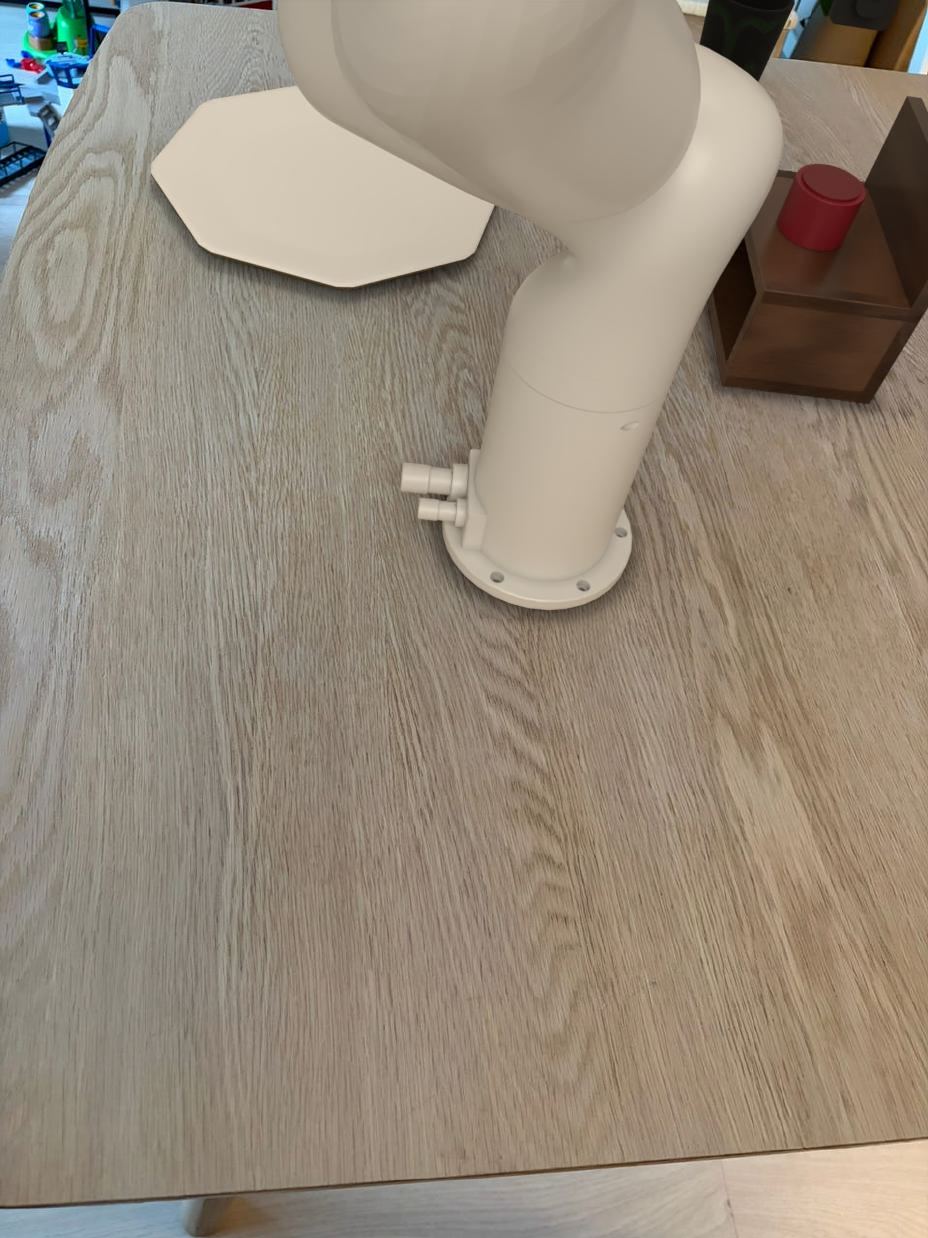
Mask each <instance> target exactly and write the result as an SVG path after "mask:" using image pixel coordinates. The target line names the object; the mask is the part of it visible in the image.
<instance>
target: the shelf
mask: <svg viewBox="0 0 928 1238" xmlns="http://www.w3.org/2000/svg"><path fill="white" fill-rule="evenodd" d="M796 173H797V171H794V170H791V171H790V170H785V169H778V172H777V174H776V177H775V179H774V182H773V184H772V187H771V189H770V191H769V193H768V195H767V197H766V199H765V201H764V203H763V205H762V207H761V209H760V211H759V212H758V214H757V216H756V217H755V219H754V221H753V222H752V224H751V226H750V227H749V229H748V231H747V232H746V234H745V236H744V237H743V239H742V241H741V242H740V244H739V245H738V247H737V249H736V250H735V252H734V254H733V255H732V257H731V259H730V260H729V262H728V264H727V266H726V267H725V269H724V271H723V272H722V274H721V276H720V277H719V279H718V281H717V283H716V285H715V287H714V289H713V291H712V292H711V294H710V296H709V298H708V300H707V302H706V304H707V308H708V314H709V319H710V325H711V330H712V336H713V342H714V348H715V352H716V358H717V363H718V369H719V374H720V380H721V385H722V387H726V388H727V387H728V388H735V389H736V388H737V389H743V390H753V391H761V392H770V393H777V394H785V395H787V394H788V395H795V396H802V397H811V398H820V399H828V400H836V401H846V402H853V403H858V404H859V403H860V404H867V405H868V404H871V402H872V401H873V399H874V397H875V396H876V395H877V392H878V391H879V389H880V387H881V386H882V384H883V383H884V381H885V380H886V378H887V376H888V374H889V373H890V371H891V370H892V368H893V366H894V364H895V363H896V361H897V359H898V358H899V356H900V354H901V353H902V351H903V350H904V348H905V346H906V345H907V343H908V342H909V340H910V339H911V336H912V335H913V334H914V332H915V330H916V328H917V327H918V325H919V324H920V322H921V320H922V318H923V317H924V316H925V314H926V312H927V311H928V109H927V106H926V104H925V102H924V100H923V98H922V97H918V96H911V95H906V97H905V99H904V101H903V103H902V105H901V107H900V109H899V111H898V113H897V115H896V117H895V119H894V121H893V123H892V126H891V128H890V129H889V132H888V134H887V136H886V137H885V140H884V142H883V144H882V146H881V148H880V150H879V152H878V154H877V156H876V159H875V160H874V162H873V165H872V167H871V168H870V171H869V173H868V175H867V177H866V179H865V181H864V180H860V182H861V183H862V184H863V186H864V187H865V190H866V197H865V199H864V201H863V203H862V205H861V207H860V209H859V211H858V213H857V215H856V217H855V219H854V221H853V223H852V225H851V227H850V229H849V231H848V233H847V235H846V237H845V239H844V241H843V243H842V245H841V246H839V247H838V248H836V249H834V250H830V251H815V250H810V249H806V248H803V247H801V246H798V245H796V244H794V243H793V242H791V241H790V240H788V239H787V238H786V237H785V236H784V235H783V234H782V233H781V232H780V230H779V229H778V226H777V218H778V215H779V213H780V211H781V208H782V206H783V204H784V201H785V199H786V197H787V194H788V192H789V190H790V187H791V185H792V183H793V180H794V178H795V176H796Z"/></svg>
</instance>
